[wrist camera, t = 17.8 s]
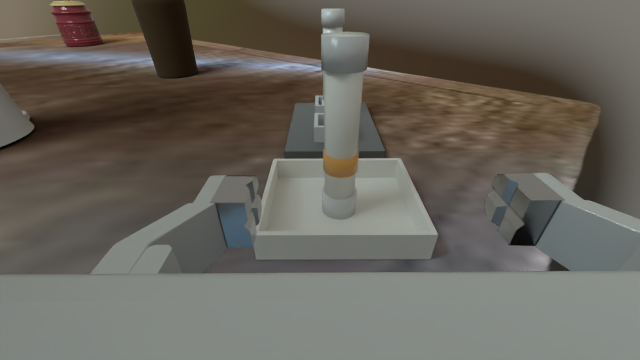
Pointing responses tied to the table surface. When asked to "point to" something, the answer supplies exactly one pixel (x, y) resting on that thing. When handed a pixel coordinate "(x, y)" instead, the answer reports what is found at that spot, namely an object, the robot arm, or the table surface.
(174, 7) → the olive oil
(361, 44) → the cylinder
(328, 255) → the tray
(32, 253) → the table surface
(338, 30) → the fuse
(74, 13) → the canister
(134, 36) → the table surface
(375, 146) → the fuse board
